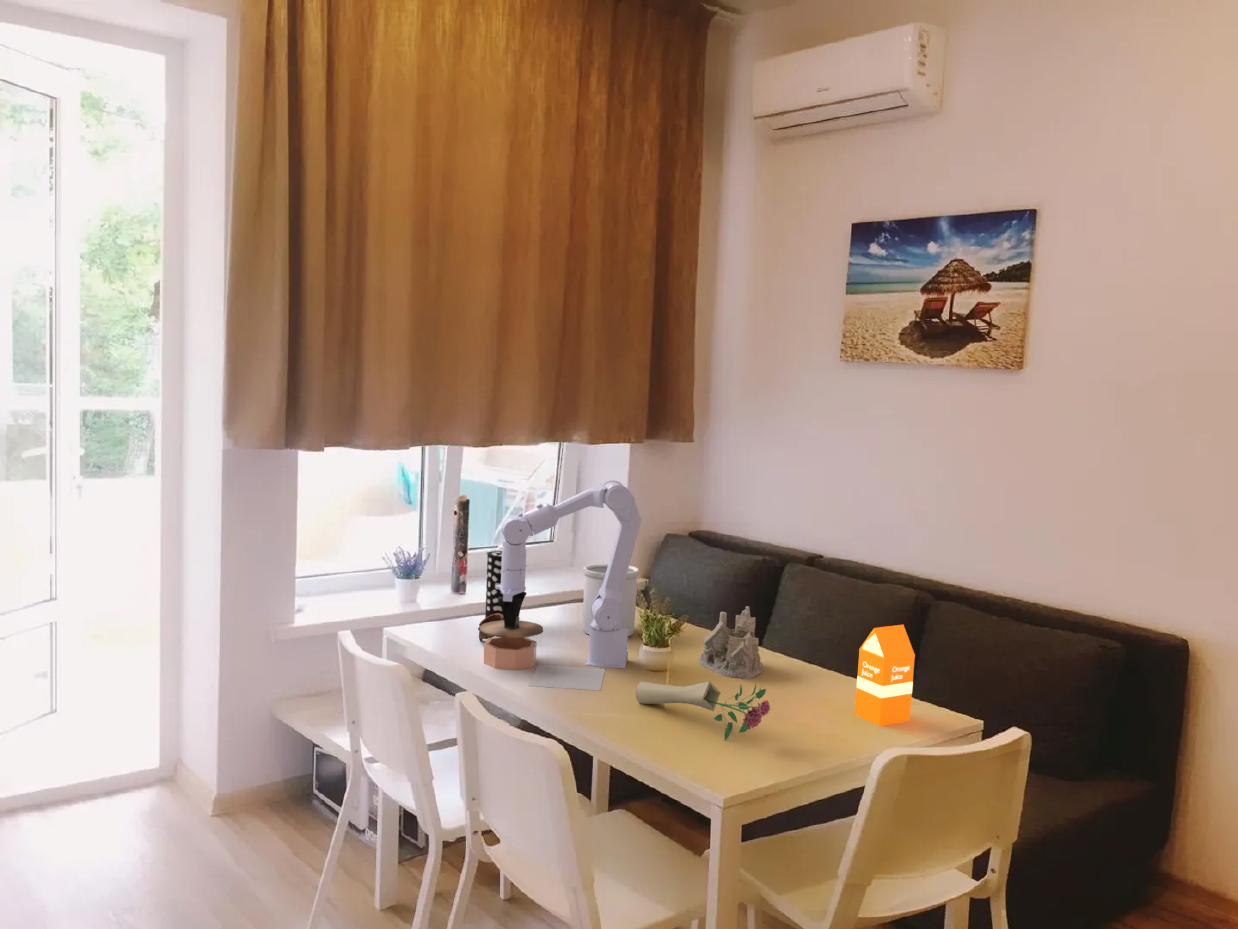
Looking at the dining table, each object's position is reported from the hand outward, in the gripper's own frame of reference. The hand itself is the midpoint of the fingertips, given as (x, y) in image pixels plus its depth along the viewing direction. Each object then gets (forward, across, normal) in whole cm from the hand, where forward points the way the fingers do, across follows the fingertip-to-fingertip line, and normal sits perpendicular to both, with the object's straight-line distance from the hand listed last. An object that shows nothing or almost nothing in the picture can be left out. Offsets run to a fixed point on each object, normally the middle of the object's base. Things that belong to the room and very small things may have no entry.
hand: (511, 624), depth 249 cm
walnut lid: (+1, 0, 0) cm, 1 cm away
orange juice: (+10, +21, +84) cm, 87 cm away
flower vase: (+10, +34, +45) cm, 57 cm away
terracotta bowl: (+9, 0, 0) cm, 9 cm away
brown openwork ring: (+10, -19, -6) cm, 22 cm away
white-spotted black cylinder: (+10, -32, -8) cm, 34 cm away
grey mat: (+9, +9, +15) cm, 20 cm away
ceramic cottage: (+10, -8, +53) cm, 54 cm away
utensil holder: (+10, -34, +21) cm, 41 cm away
